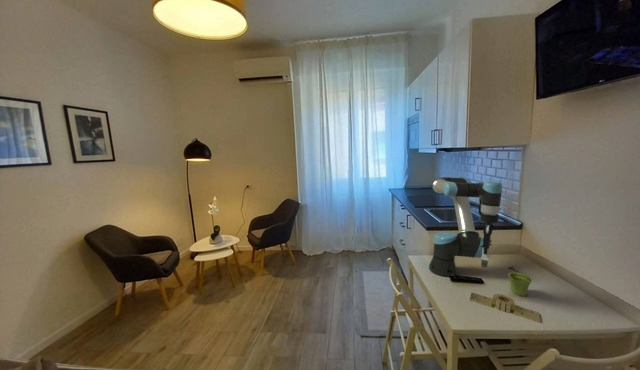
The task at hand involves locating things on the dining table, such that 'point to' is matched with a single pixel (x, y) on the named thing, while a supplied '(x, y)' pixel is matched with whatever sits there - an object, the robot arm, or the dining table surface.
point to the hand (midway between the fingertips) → (484, 258)
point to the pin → (484, 262)
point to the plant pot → (519, 283)
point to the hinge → (505, 305)
